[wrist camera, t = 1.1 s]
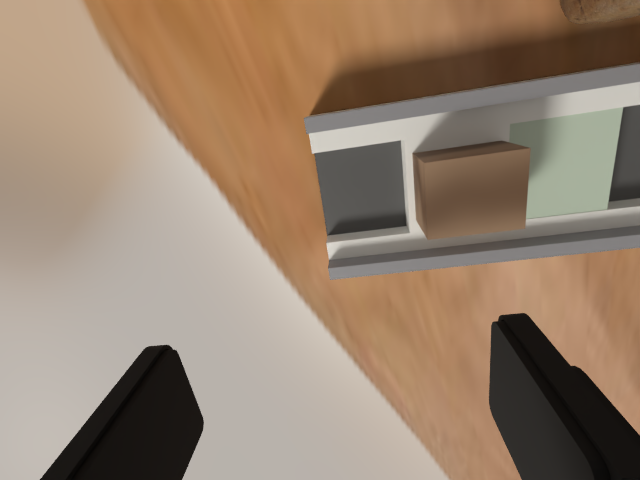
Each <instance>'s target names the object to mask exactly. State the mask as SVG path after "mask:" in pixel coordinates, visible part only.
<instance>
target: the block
mask: <svg viewBox="0 0 640 480" xmlns="http://www.w3.org/2000/svg"><path fill="white" fill-rule="evenodd" d="M560 5H561V8H562V10H563V12H564V14H565V16H566V17H567V18H568V19H569V20H570V22H573V23H576V24H591V23H601V22H611V21H616V20H621V19H626V18H631V17H635V16H638V15H640V0H560Z"/></svg>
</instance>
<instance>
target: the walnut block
mask: <svg viewBox="0 0 640 480" xmlns="http://www.w3.org/2000/svg"><path fill="white" fill-rule="evenodd" d="M530 152H531V148H529V147H525V146H521V145H517V144H513V143H510V142H506V141H502V140H501V141H494V142H487V143H480V144H473V145H466V146H460V147H453V148H446V149H439V150H432V151H425V152H418V153H412V157H413V176H414V194H415V212H416V221H417V223H418V224H419V226H420V228H421V230H422V231H423V233H424V235H425V236H426V238H427V240H432V239H441V238H450V237H458V236H467V235H476V234H484V233H493V232H502V231H511V230H519V229H525V226H526V211H527V196H528V181H529V166H530Z"/></svg>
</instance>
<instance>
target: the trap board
mask: <svg viewBox="0 0 640 480" xmlns="http://www.w3.org/2000/svg"><path fill="white" fill-rule="evenodd" d="M304 121H305V128H306V134H309V137H310V143H311V149H312V154H313V153H314V154H315V160H316V166H317V173H318V179H319V185H320V192H321V198H322V205H323V211H324V217H325V224H326V230H327V242H326V243H327V250H328V256H329V267H328V269H329V276H330V280H333V279H343V278H353V277H362V276H372V275H381V274H391V273H400V272H410V271H420V270H429V269H439V268H448V267H458V266H467V265H477V264H487V263H496V262H506V261H515V260H525V259H534V258H544V257H554V256H563V255H573V254H582V253H592V252H601V251H611V250H621V249H630V248H640V62H637V63H630V64H624V65H618V66H612V67H606V68H600V69H593V70H587V71H581V72H575V73H569V74H563V75H557V76H550V77H544V78H538V79H532V80H526V81H520V82H514V83H507V84H501V85H495V86H489V87H483V88H477V89H471V90H464V91H458V92H452V93H446V94H440V95H434V96H427V97H421V98H415V99H409V100H403V101H397V102H391V103H384V104H378V105H372V106H366V107H360V108H354V109H348V110H341V111H335V112H329V113H323V114H317V115H311V116H307V117H305V118H304ZM501 140H502V141H506V142H510V143H513V144H517V145H521V146H525V147H529V148H531V152H530V166H529V181H528V196H527V211H526V226H525V229H519V230H511V231H502V232H493V233H484V234H476V235H467V236H458V237H450V238H441V239H432V240H427V238H426V236H425V235H424V233H423V231H422V230H421V228H420V226H419V224H418V223H417V221H416V212H415V194H414V176H413V157H412V153H418V152H425V151H432V150H439V149H446V148H453V147H460V146H466V145H473V144H480V143H487V142H494V141H501Z"/></svg>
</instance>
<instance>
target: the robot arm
mask: <svg viewBox="0 0 640 480" xmlns="http://www.w3.org/2000/svg"><path fill="white" fill-rule="evenodd" d="M489 404H490V409H491V413H492V416H493V418H494V420H495V422H496V424H497V427H498V429H499V431H500V433H501V435H502V437H503V440H504V442H505V444H506V446H507V448H508V450H509V453H510V455H511V457H512V459H513V461H514V463H515V466H516V468H517V470H518V472H519V474H520V476H521V479H522V480H640V435H639V434H638V433H637V432H636V431H635V430H634V429H633V427H632V426H631V425H630V424H629V423H628V422H627V420H626V419H625V418H624V417H623V416H622V415H621V414H620V412H619V411H618V410H617V409H616V408H615V407H614V406H613V404H612V403H611V402H610V401H609V400H608V399H607V398H606V396H605V395H604V394H603V393H602V392H601V391H600V389H599V388H598V387H597V386H596V385H595V384H594V383H593V381H592V380H591V379H590V378H589V377H588V376H587V375H586V373H584V372H583V371H582V370H581V369H580V368H578V367H576V366H570V365H569V364H568V362H567V361H566V360H565V359H564V358H563V356H562V355H561V354H560V353H559V352H558V350H557V349H556V348H555V347H554V346H553V345H552V343H551V342H550V341H549V340H548V339H547V337H546V336H545V335H544V334H543V333H542V331H541V330H540V329H539V328H538V327H537V325H536V324H535V323H534V322H533V321H532V319H531V318H530V317H529V316H528V315H527V314H525V313H520V314H509V315H501V316H499V319H498V321H497V322H493V323H492V327H491V357H490V388H489ZM203 424H204V422H203V417H202V414H201V411H200V409H199V406H198V404H197V401H196V398H195V396H194V394H193V391H192V388H191V385H190V383H189V380H188V378H187V375H186V373H185V370H184V367H183V365H182V362H181V360H180V357H179V354H178V353H177V351H176V350H173V349H172V347H170V346H169V345H160V346H149V347H146V348H145V349H144V350H143V351H142V353H141V354H140V355H139V356H138V357H137V359H136V360H135V361H134V362H133V364H132V365H131V366H130V367H129V369H128V370H127V371H126V372H125V374H124V375H123V376H122V377H121V379H120V380H119V381H118V383H117V384H116V385H115V386H114V388H113V389H112V390H111V391H110V393H109V394H108V395H107V396H106V398H105V399H104V400H103V401H102V403H101V404H100V405H99V406H98V408H97V409H96V410H95V411H94V413H93V414H92V415H91V416H90V418H89V419H88V420H87V421H86V423H85V424H84V425H83V427H82V428H81V429H80V430H79V432H78V433H77V434H76V435H75V437H74V438H73V439H72V440H71V441H70V443H69V444H68V445H67V446H66V448H65V449H64V450H63V451H62V453H61V454H60V455H59V457H58V458H57V459H56V460H55V462H54V463H53V464H52V465H51V467H50V468H49V469H48V470H47V472H46V473H45V474H44V475H43V477H42V478H41V479H40V480H182V478H183V476H184V474H185V471H186V469H187V467H188V464H189V462H190V460H191V457H192V455H193V453H194V450H195V448H196V445H197V443H198V441H199V438H200V436H201V434H202V431H203Z"/></svg>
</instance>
